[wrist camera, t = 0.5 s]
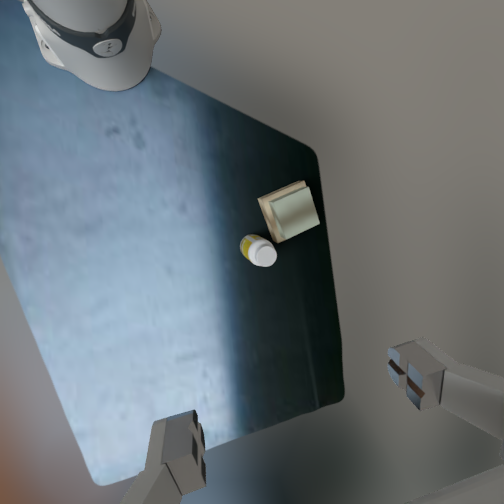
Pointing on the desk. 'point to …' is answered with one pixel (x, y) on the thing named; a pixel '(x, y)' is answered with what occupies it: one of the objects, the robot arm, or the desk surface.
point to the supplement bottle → (258, 250)
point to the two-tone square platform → (289, 211)
